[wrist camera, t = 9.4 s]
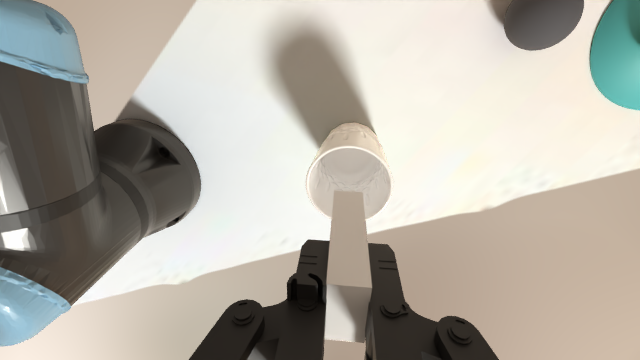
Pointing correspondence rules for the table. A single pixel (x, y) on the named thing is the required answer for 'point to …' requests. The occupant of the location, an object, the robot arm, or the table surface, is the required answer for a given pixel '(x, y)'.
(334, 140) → the white cup
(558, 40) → the dark grey sphere
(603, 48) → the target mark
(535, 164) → the table surface
